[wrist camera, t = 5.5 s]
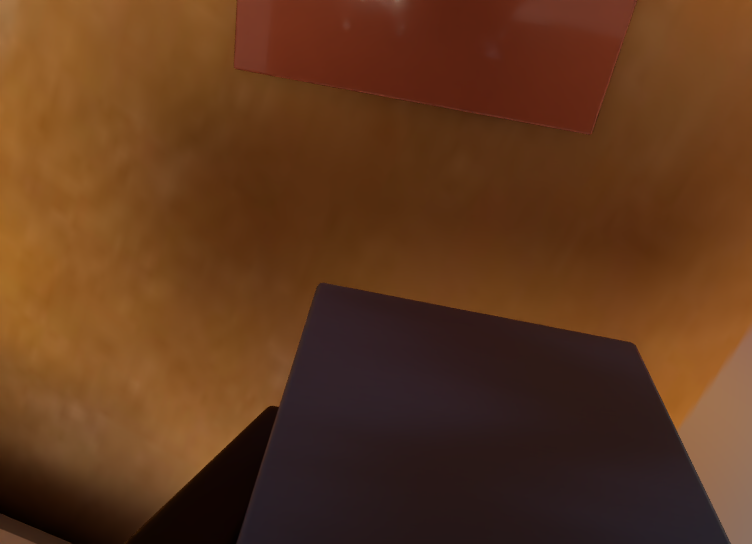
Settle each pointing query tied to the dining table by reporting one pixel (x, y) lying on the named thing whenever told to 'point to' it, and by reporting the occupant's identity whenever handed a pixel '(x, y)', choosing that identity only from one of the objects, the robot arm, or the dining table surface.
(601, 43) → the terracotta tile
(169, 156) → the dining table surface
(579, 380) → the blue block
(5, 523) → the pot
